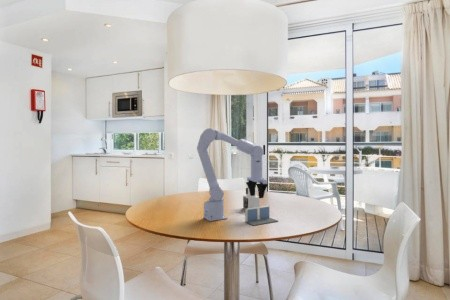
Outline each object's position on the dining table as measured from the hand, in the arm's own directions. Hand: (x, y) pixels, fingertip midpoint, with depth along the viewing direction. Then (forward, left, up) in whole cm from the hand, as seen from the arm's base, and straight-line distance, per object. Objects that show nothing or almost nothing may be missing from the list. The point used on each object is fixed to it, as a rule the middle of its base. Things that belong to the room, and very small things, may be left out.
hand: (256, 196), depth 143 cm
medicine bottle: (+7, +15, -10) cm, 20 cm away
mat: (-4, -10, -10) cm, 14 cm away
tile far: (0, -6, -10) cm, 11 cm away
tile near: (-7, -6, -10) cm, 13 cm away
